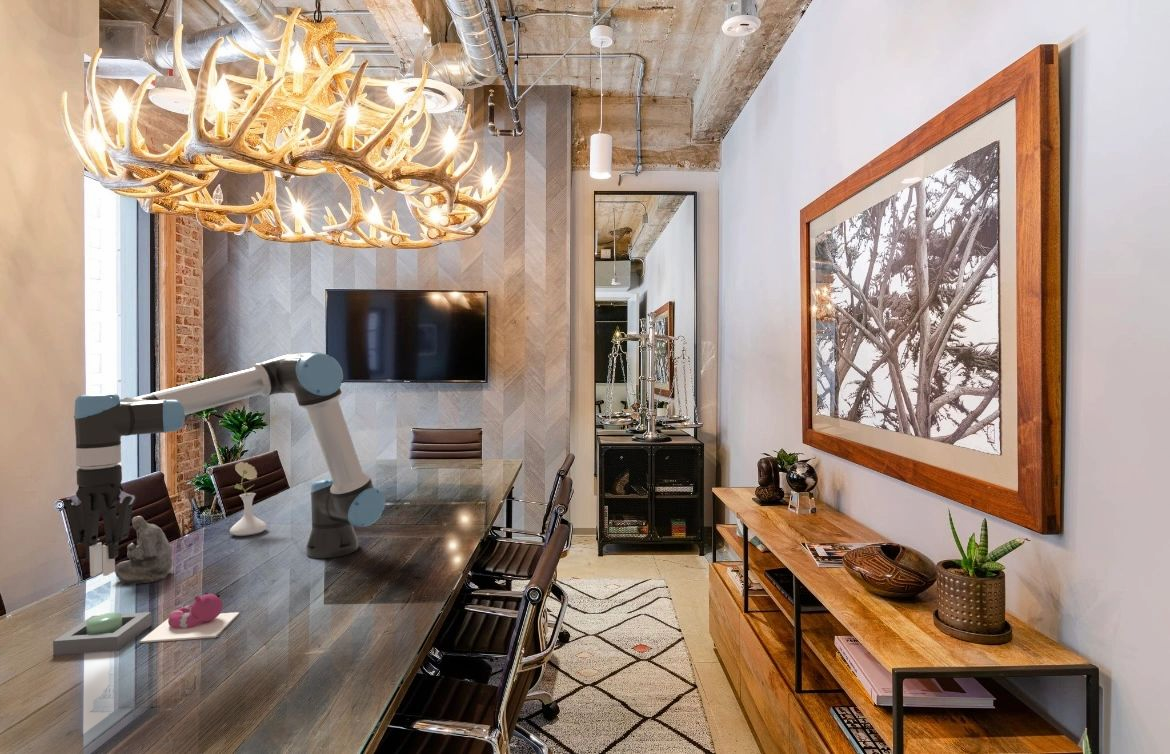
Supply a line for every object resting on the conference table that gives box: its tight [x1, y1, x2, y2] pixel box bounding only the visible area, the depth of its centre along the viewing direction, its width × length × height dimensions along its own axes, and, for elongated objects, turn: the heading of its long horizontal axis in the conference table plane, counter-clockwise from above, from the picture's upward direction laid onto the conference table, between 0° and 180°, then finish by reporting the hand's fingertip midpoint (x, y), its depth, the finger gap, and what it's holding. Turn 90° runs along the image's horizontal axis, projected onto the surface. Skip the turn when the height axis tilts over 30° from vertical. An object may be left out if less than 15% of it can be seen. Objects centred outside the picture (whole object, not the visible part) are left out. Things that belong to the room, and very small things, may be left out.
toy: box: [167, 592, 223, 628], centre depth 135 cm, size 11×9×10 cm
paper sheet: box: [139, 611, 240, 644], centre depth 133 cm, size 15×12×1 cm
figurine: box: [114, 515, 173, 586], centre depth 164 cm, size 13×12×18 cm
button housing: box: [52, 611, 152, 656], centre depth 128 cm, size 12×12×3 cm
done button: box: [86, 612, 123, 635], centre depth 127 cm, size 6×6×3 cm
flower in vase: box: [229, 461, 268, 537], centre depth 205 cm, size 13×11×25 cm
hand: (102, 573), depth 127 cm, fingers open, 2 cm apart
